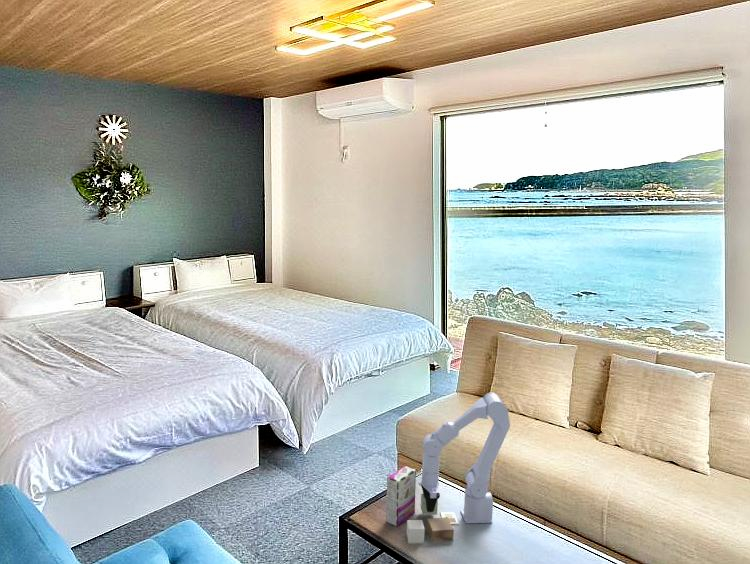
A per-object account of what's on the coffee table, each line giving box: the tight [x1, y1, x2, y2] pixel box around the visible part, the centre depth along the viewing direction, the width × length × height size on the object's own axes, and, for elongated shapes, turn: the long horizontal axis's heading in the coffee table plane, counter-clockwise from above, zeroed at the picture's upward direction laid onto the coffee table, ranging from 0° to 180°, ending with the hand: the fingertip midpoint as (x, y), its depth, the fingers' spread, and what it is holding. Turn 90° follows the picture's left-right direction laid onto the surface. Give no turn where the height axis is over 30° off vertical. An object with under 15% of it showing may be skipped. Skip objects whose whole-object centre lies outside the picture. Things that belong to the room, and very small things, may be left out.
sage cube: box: [420, 493, 439, 516], centre depth 192 cm, size 5×5×5 cm
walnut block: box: [426, 517, 455, 542], centre depth 181 cm, size 7×7×4 cm
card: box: [439, 511, 460, 526], centre depth 191 cm, size 5×7×1 cm
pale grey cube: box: [406, 519, 425, 544], centre depth 179 cm, size 5×5×5 cm
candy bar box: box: [385, 465, 417, 527], centre depth 190 cm, size 11×5×16 cm, turn 143°
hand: (428, 506), depth 192 cm, fingers closed on sage cube, 5 cm apart
